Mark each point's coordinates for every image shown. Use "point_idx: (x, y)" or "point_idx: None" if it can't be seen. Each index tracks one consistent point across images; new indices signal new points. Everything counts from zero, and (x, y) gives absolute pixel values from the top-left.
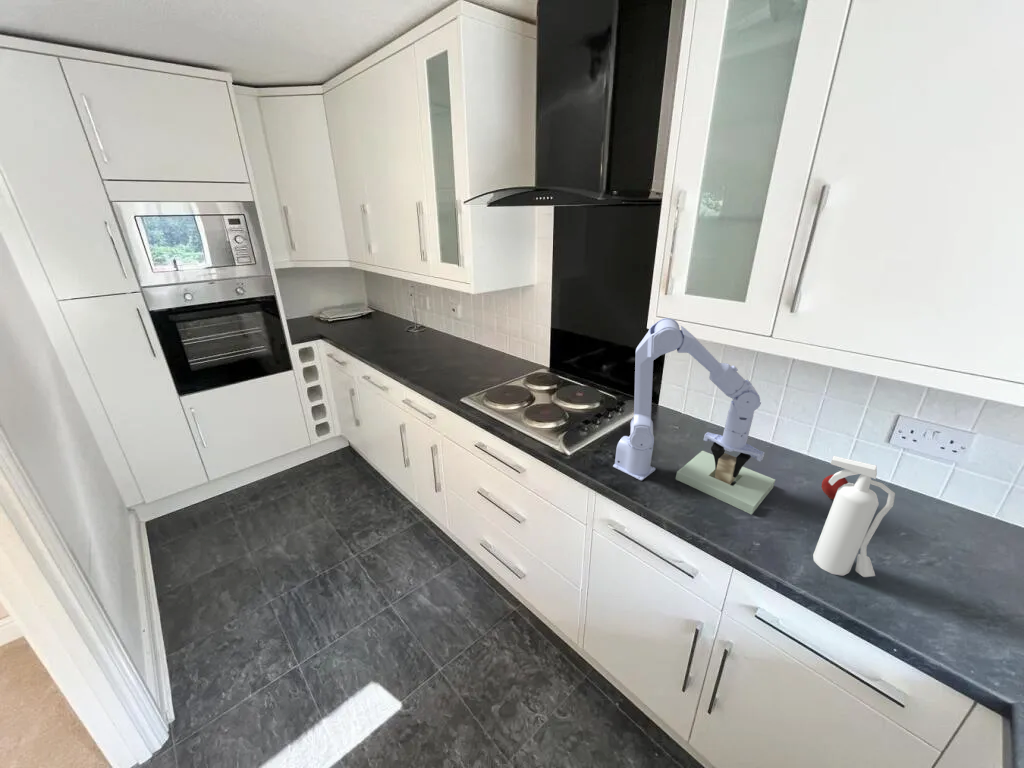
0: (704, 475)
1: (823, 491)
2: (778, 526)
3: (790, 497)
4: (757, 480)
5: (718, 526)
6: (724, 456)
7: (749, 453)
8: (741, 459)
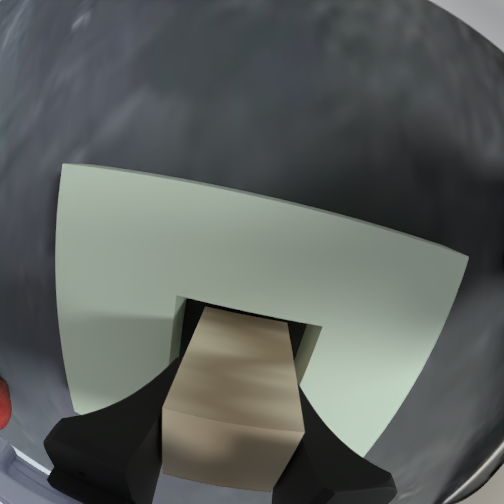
0: (344, 311)
1: (2, 391)
2: (23, 162)
3: (42, 356)
4: (109, 389)
5: (202, 2)
6: (263, 468)
7: (22, 494)
8: (77, 445)
